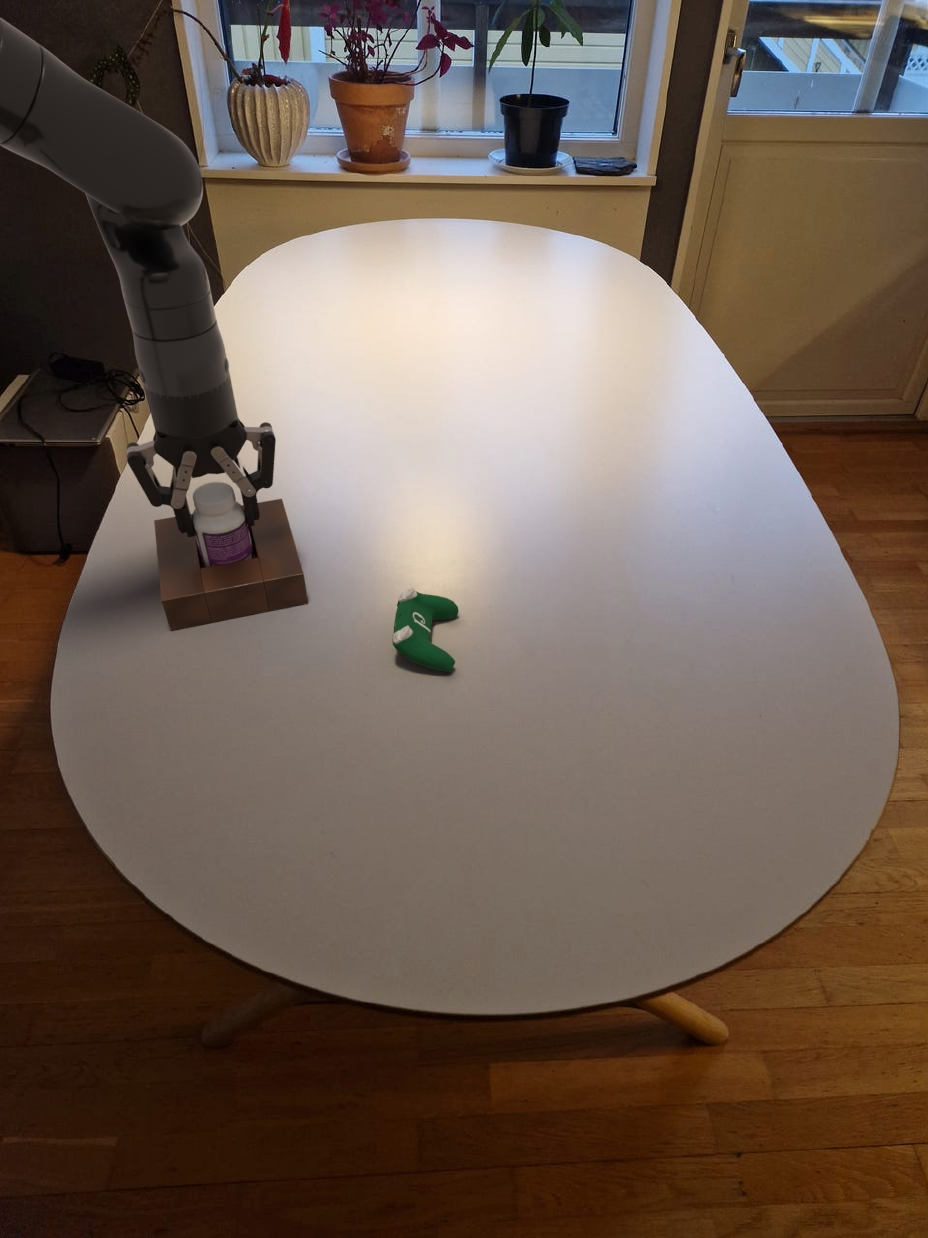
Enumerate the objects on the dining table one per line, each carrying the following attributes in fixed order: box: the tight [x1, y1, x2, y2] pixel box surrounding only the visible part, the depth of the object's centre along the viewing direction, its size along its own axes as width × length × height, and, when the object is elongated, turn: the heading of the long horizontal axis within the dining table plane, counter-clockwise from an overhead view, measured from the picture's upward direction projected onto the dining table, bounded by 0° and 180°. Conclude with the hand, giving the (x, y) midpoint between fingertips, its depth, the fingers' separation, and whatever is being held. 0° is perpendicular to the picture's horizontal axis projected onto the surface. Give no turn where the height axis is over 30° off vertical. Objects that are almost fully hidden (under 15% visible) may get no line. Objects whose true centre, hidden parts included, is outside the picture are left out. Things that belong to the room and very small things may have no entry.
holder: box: [153, 498, 309, 631], centre depth 91 cm, size 14×14×4 cm
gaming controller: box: [391, 587, 460, 673], centre depth 84 cm, size 9×4×6 cm
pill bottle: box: [191, 481, 255, 568], centre depth 88 cm, size 5×5×10 cm
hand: (220, 526), depth 88 cm, fingers closed on pill bottle, 5 cm apart
